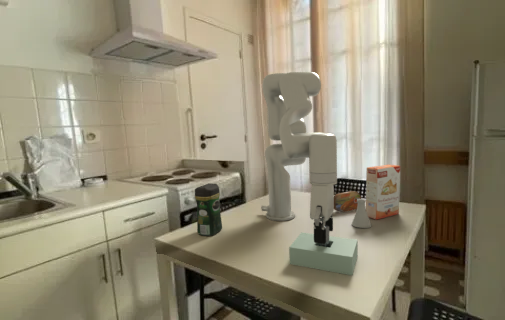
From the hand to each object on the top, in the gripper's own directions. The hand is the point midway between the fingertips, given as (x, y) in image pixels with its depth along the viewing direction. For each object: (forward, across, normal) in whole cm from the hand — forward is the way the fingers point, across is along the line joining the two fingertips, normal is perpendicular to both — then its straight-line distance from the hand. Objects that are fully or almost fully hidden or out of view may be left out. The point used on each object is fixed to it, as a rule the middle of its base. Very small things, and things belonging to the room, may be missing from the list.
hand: (323, 236), depth 82 cm
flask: (+7, -33, +7) cm, 35 cm away
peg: (+7, 0, 0) cm, 7 cm away
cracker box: (+7, -48, +14) cm, 51 cm away
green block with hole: (+7, 0, 0) cm, 7 cm away
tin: (+7, -51, -1) cm, 52 cm away
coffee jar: (+7, -7, -45) cm, 46 cm away
